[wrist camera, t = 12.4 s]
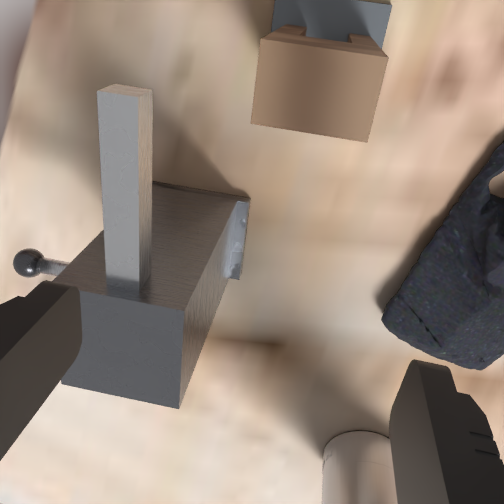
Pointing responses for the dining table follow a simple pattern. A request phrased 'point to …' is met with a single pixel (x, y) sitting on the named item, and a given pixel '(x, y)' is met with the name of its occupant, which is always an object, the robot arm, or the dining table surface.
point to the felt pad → (334, 18)
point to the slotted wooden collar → (318, 83)
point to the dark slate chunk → (458, 282)
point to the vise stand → (146, 264)
